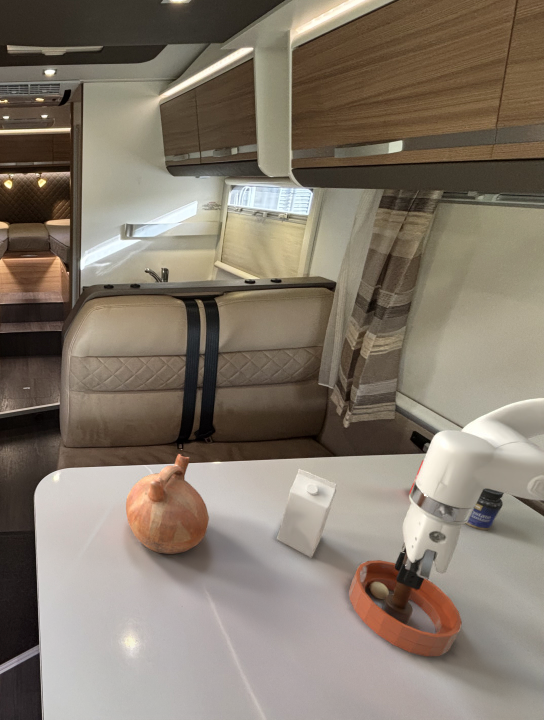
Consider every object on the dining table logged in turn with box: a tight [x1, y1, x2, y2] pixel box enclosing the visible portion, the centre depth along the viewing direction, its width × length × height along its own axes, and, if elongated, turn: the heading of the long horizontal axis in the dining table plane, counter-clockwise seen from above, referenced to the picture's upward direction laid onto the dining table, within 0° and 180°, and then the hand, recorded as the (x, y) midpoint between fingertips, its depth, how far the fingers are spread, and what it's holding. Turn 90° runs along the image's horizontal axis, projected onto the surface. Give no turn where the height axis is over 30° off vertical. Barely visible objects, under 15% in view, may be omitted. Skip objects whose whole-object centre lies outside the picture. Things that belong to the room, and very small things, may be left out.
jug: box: [125, 453, 210, 555], centre depth 97 cm, size 18×18×20 cm
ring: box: [348, 559, 463, 658], centre depth 81 cm, size 15×15×6 cm
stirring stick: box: [381, 552, 420, 625], centre depth 79 cm, size 4×4×15 cm
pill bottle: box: [464, 488, 505, 531], centre depth 101 cm, size 6×6×11 cm
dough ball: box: [369, 582, 390, 600], centre depth 85 cm, size 3×3×3 cm
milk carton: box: [276, 468, 338, 558], centre depth 95 cm, size 7×7×19 cm
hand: (406, 577), depth 78 cm, fingers closed on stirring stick, 2 cm apart
